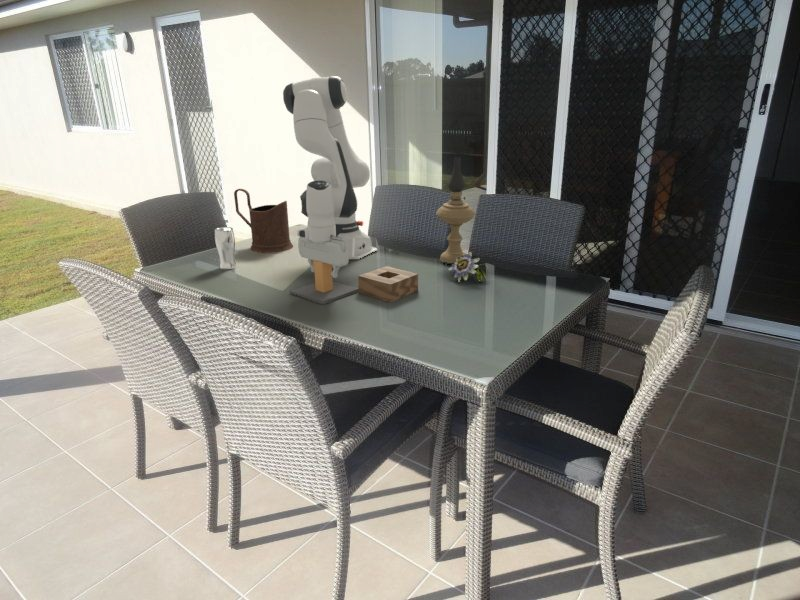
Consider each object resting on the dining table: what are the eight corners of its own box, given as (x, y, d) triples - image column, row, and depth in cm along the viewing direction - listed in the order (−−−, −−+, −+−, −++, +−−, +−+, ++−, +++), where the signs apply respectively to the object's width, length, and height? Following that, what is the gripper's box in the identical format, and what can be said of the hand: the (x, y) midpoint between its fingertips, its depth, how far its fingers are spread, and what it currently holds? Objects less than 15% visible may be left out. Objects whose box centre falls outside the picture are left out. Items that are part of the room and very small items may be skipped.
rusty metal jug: (283, 254, 223) (278, 193, 214) (230, 251, 228) (223, 192, 219) (299, 243, 240) (295, 187, 231) (250, 240, 245) (244, 185, 236)
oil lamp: (479, 264, 208) (485, 158, 194) (445, 268, 203) (448, 160, 189) (461, 254, 221) (465, 154, 207) (428, 258, 216) (430, 156, 202)
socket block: (386, 282, 188) (386, 266, 185) (418, 291, 179) (418, 273, 177) (358, 292, 178) (358, 275, 175) (390, 302, 169) (390, 284, 167)
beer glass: (240, 265, 208) (236, 227, 203) (233, 270, 202) (229, 231, 196) (223, 264, 209) (218, 226, 204) (215, 269, 202) (210, 230, 197)
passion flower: (459, 296, 190) (440, 268, 189) (474, 282, 198) (456, 255, 197) (481, 285, 182) (462, 255, 181) (496, 271, 189) (478, 243, 188)
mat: (326, 281, 188) (325, 279, 188) (358, 291, 179) (358, 288, 178) (290, 293, 177) (290, 290, 177) (323, 304, 167) (322, 301, 167)
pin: (324, 287, 180) (323, 258, 177) (332, 289, 178) (331, 260, 174) (315, 290, 177) (313, 261, 174) (323, 292, 175) (322, 263, 171)
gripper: (352, 236, 167) (353, 278, 172) (308, 227, 179) (311, 266, 184) (337, 240, 162) (339, 283, 167) (293, 230, 175) (297, 270, 180)
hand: (324, 274), depth 176 cm, fingers open, 8 cm apart
